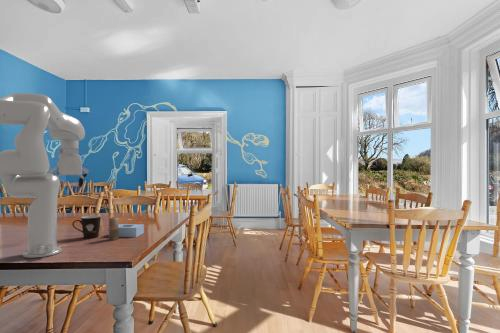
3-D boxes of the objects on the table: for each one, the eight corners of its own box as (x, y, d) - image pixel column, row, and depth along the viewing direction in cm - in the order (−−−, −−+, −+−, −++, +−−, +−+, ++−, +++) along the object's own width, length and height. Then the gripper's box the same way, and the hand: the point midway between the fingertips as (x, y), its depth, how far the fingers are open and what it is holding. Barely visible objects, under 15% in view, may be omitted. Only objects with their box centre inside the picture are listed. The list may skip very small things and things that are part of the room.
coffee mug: (104, 235, 151) (104, 215, 152) (94, 239, 143) (94, 218, 143) (82, 235, 153) (82, 215, 153) (71, 239, 144) (71, 218, 144)
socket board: (143, 233, 157) (143, 224, 157) (136, 236, 148) (136, 227, 148) (117, 232, 158) (117, 224, 158) (108, 236, 149) (108, 227, 149)
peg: (119, 239, 143) (119, 218, 143) (110, 240, 140) (110, 219, 141) (116, 237, 146) (117, 217, 146) (108, 239, 143) (108, 218, 144)
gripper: (50, 151, 140) (50, 188, 140) (91, 152, 152) (91, 186, 152) (47, 151, 145) (46, 187, 145) (86, 153, 157) (86, 186, 157)
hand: (69, 187), depth 148 cm, fingers open, 9 cm apart
